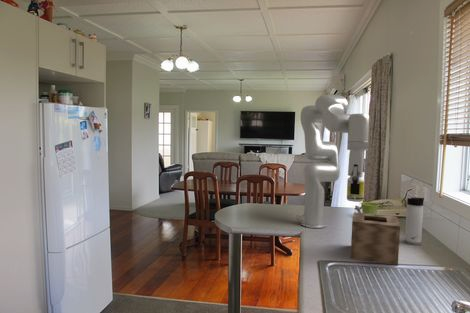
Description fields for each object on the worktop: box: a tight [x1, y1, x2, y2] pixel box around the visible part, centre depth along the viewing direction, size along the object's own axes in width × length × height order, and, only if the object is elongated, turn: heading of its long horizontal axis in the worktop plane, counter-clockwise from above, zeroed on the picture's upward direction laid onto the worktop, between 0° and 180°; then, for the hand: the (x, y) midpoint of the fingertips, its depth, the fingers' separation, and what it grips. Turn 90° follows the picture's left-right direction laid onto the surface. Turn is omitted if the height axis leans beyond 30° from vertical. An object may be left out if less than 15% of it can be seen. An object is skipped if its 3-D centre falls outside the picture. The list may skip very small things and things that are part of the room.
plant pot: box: [360, 201, 380, 215], centre depth 190 cm, size 9×9×9 cm
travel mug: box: [404, 197, 425, 246], centre depth 149 cm, size 6×7×20 cm
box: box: [350, 212, 401, 266], centre depth 134 cm, size 16×16×14 cm
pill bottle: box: [346, 172, 365, 203], centre depth 134 cm, size 6×6×11 cm
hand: (355, 192), depth 134 cm, fingers closed on pill bottle, 6 cm apart
